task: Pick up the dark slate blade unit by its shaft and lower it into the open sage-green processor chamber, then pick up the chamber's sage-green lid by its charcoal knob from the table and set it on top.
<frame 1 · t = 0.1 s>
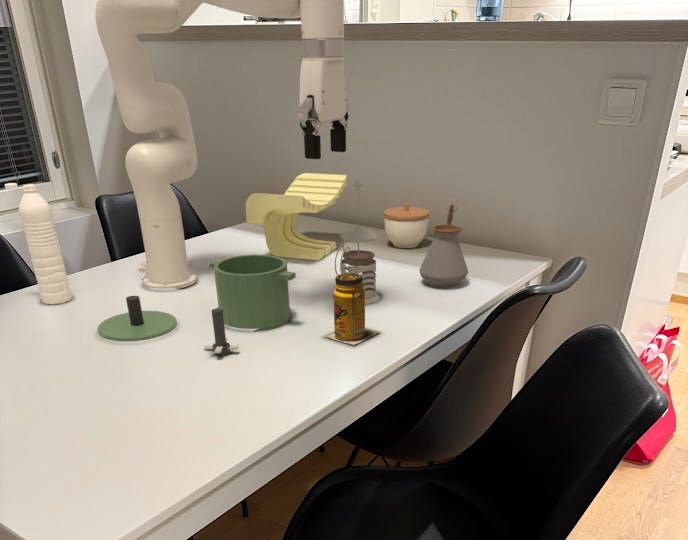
hand: (326, 155, 130), 31 cm above the table, tool pointing down, fingers open, 9 cm apart
french press: (355, 299, 154), on the table
lidded bowl: (405, 245, 192), on the table
coffee pot: (444, 277, 167), on the table
chamber: (255, 318, 144), on the table
slatted curved stool: (301, 252, 188), on the table
blade: (222, 352, 128), on the table
condiment: (353, 336, 135), on the table
water bottle: (53, 300, 156), on the table
lid: (137, 326, 139), point 1 cm above the table
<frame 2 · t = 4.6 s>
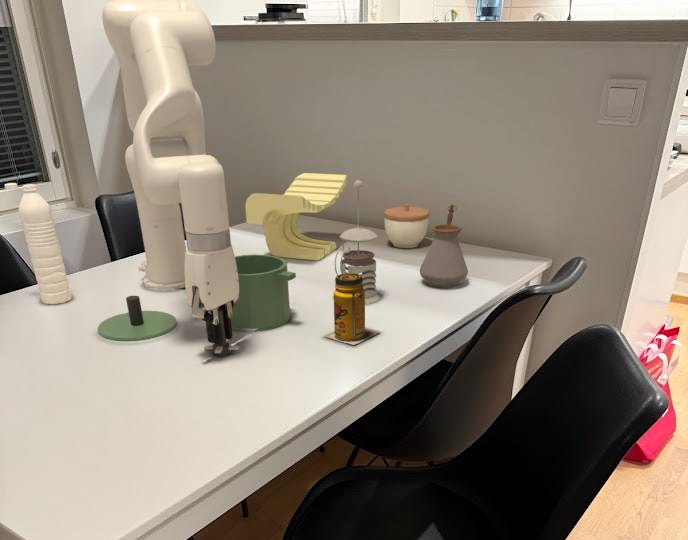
hand: (220, 339, 127), 3 cm above the table, tool pointing down, fingers closed on blade
blade: (222, 352, 128), on the table, touching gripper
everything else where it was.
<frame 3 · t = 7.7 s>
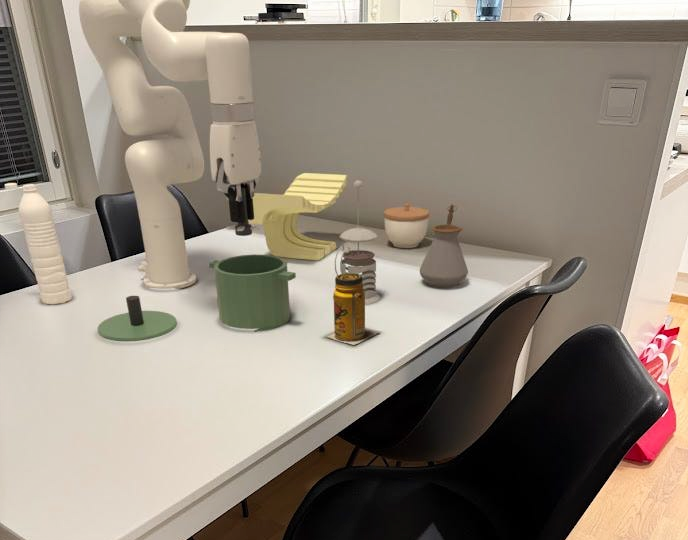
hand: (242, 219, 131), 21 cm above the table, tool pointing down, fingers closed on blade
blade: (243, 233, 132), point 18 cm above the table, touching gripper
everything else where it was.
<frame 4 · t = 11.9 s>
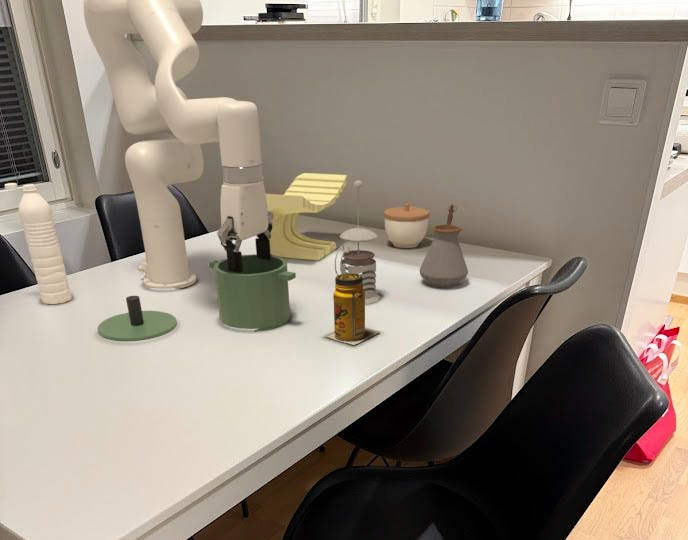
hand: (250, 264, 138), 11 cm above the table, tool pointing down, fingers open, 9 cm apart
blade: (256, 311, 143), point 2 cm above the table, tilted 39°, touching chamber
everything else where it was.
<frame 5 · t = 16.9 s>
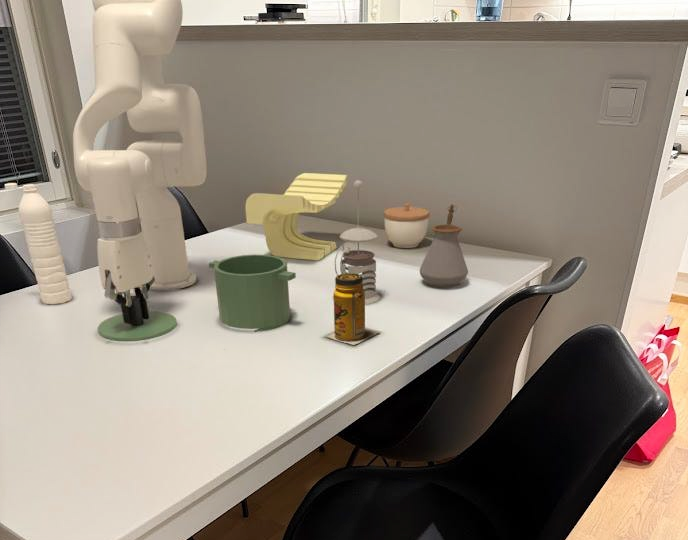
hand: (136, 320, 138), 2 cm above the table, tool pointing down, fingers closed on lid, 2 cm apart
lid: (137, 326, 139), point 1 cm above the table, touching gripper
everything else where it was.
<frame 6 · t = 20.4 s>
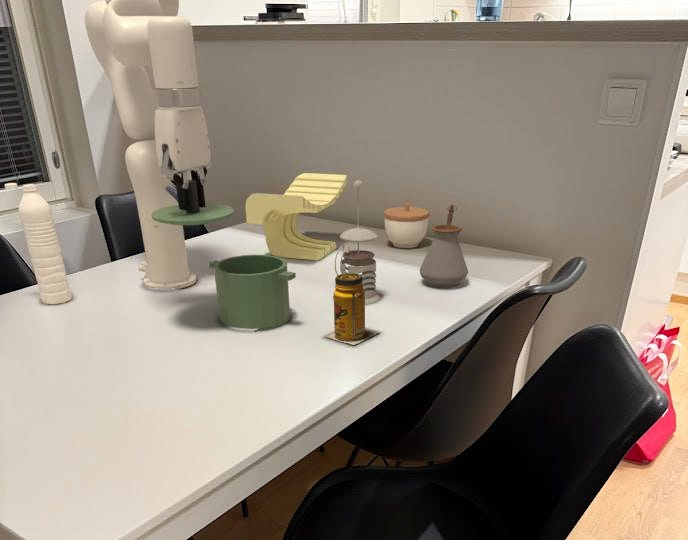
hand: (192, 207, 129), 23 cm above the table, tool pointing down, fingers closed on lid, 2 cm apart
lid: (193, 214, 130), point 22 cm above the table, touching gripper
everything else where it was.
when the fingers open (13 cm above the table, at t = 23.9 s): lid stays where it is, resting on chamber.
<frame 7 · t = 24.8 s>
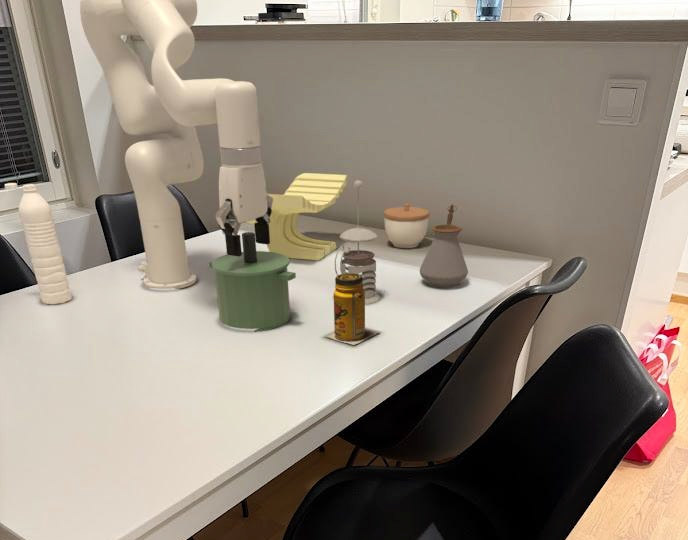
hand: (249, 249, 136), 15 cm above the table, tool pointing down, fingers open, 9 cm apart
lid: (250, 264, 137), point 11 cm above the table, touching chamber
everything else where it was.
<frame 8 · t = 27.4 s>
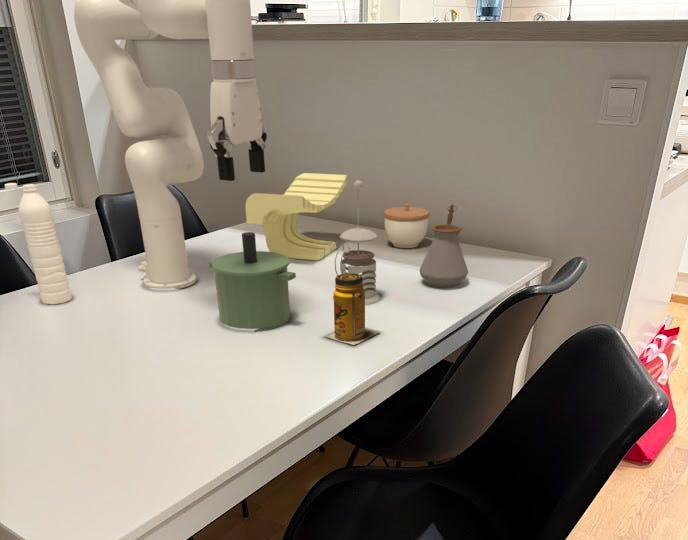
hand: (242, 175, 129), 28 cm above the table, tool pointing down, fingers open, 9 cm apart
nothing on the table moved.
at the end: blade inside the target area in the chamber (0.4 cm from its centre), point 1.5 cm above the chamber's base; lid 0.1 cm off-centre on the chamber, point 11.5 cm above the chamber's base; lid tilted 0° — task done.
